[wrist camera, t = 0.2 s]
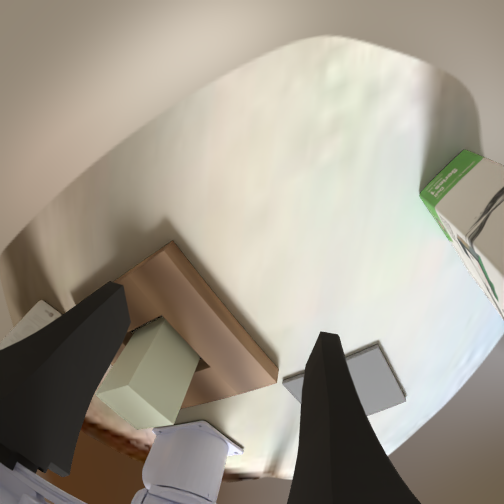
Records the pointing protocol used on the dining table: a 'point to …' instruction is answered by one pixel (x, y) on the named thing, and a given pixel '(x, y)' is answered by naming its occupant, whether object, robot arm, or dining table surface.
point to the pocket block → (196, 326)
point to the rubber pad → (364, 381)
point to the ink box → (473, 218)
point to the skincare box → (31, 323)
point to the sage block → (150, 376)
